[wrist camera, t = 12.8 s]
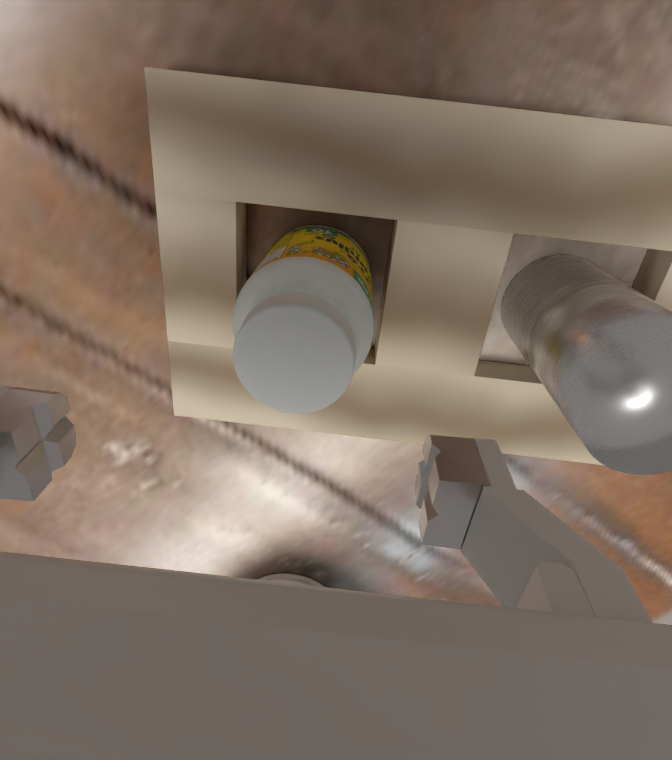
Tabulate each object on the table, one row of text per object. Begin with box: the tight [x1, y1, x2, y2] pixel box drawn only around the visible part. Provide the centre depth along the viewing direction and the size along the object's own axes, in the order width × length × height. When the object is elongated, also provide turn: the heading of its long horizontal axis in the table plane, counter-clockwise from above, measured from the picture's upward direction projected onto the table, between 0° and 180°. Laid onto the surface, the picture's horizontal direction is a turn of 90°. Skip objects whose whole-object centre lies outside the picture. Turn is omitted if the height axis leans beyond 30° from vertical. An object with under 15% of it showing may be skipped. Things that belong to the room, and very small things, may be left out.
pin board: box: [144, 67, 672, 465], centre depth 22 cm, size 16×26×2 cm, turn 85°
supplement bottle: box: [233, 225, 374, 414], centre depth 19 cm, size 5×5×10 cm
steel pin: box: [501, 254, 672, 474], centre depth 19 cm, size 5×5×10 cm
